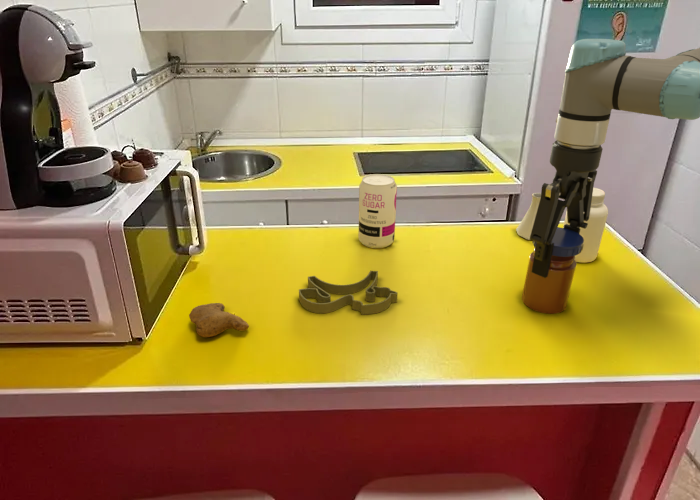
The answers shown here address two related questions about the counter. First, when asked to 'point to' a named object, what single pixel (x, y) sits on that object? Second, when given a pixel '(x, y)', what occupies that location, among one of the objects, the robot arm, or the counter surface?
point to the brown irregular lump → (215, 320)
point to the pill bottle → (592, 227)
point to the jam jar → (549, 285)
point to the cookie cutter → (325, 305)
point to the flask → (529, 218)
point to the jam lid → (566, 243)
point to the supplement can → (377, 210)
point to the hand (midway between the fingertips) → (552, 266)
